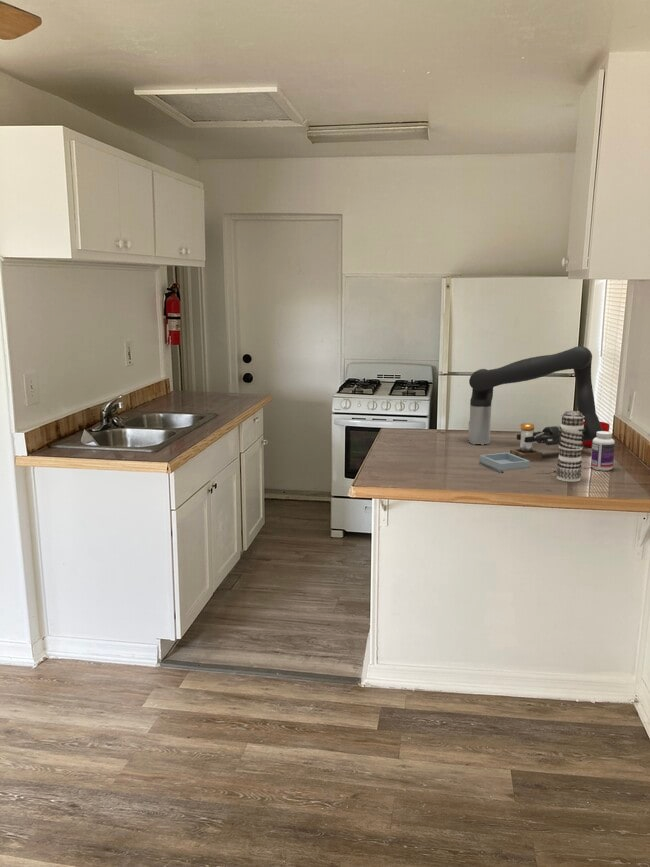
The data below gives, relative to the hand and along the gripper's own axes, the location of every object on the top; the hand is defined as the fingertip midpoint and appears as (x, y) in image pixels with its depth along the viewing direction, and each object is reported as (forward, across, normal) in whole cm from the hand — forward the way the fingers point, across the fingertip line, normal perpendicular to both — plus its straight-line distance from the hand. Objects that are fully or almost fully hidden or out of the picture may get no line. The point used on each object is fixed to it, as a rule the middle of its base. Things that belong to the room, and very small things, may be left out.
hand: (521, 438), depth 286 cm
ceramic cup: (-45, -12, +10) cm, 47 cm away
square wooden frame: (-3, 0, +10) cm, 10 cm away
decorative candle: (-2, +28, +10) cm, 30 cm away
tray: (+11, +5, +10) cm, 15 cm away
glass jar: (-3, 0, +8) cm, 9 cm away
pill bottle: (-23, +21, +10) cm, 32 cm away
